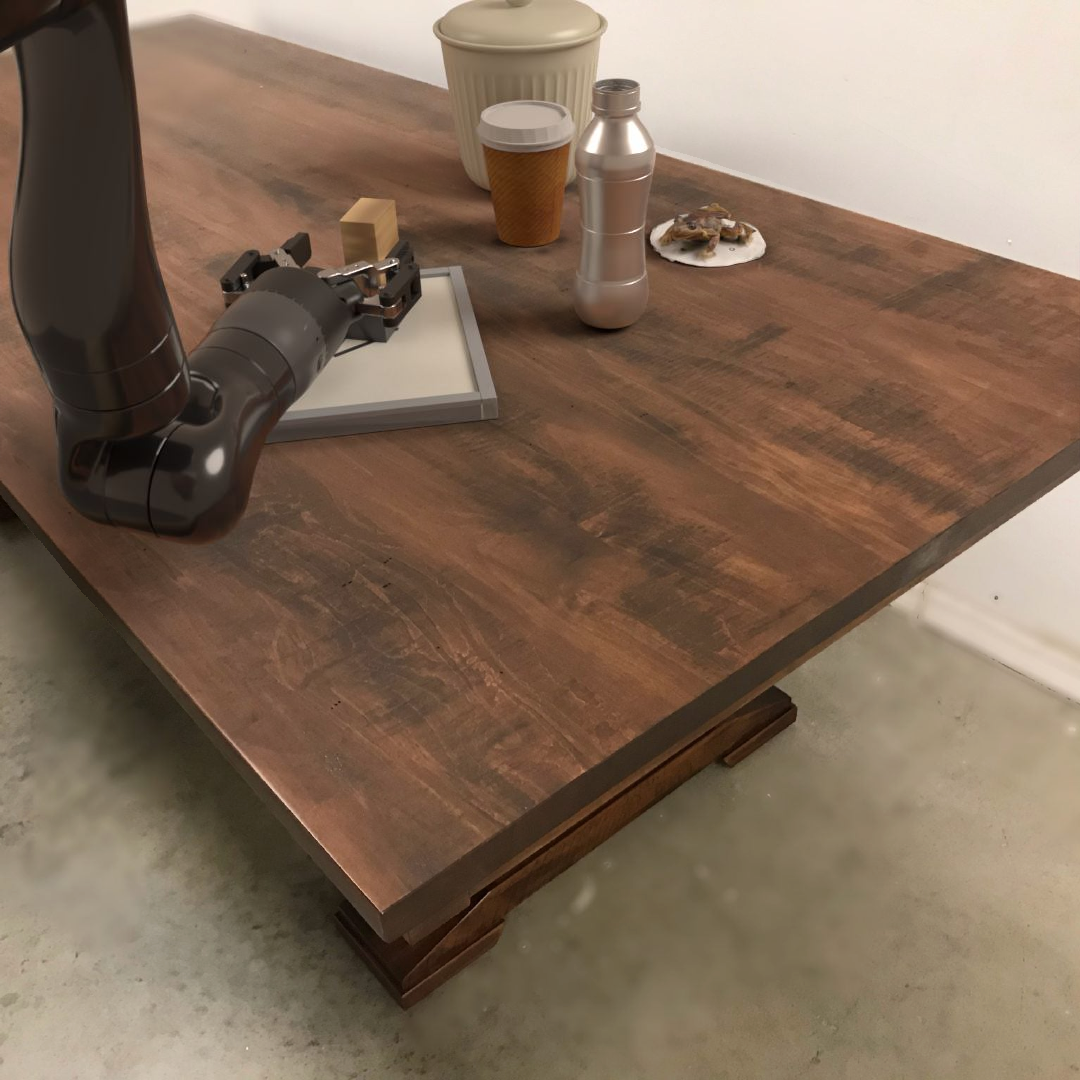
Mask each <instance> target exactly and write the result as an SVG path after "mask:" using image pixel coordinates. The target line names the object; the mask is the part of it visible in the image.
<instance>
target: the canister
mask: <svg viewBox="0 0 1080 1080" xmlns="http://www.w3.org/2000/svg"><path fill="white" fill-rule="evenodd" d="M608 26H609V23H608V20H607V18H606V17H605V16H604V15H603V14H601V13H599V12H597V11H595V10H594V9H593V7H591V6H590V5H588V4H586V3H584V2H582V1H579V0H468V1H466V2H463V3H460V4H458V5H456V6H455V7H452V8H451V9H450V10H448V11H447V12H446V13H445V14H444V15H443V16H441V17H440V18H438V19H437V20H435V22H434V24H433V25H432V32H433V34H434V36H435V38H437V39H438V40H439V41H440V48H441V52H442V53H441V54H442V58H443V66H444V72H445V78H446V83H447V89H448V95H449V101H450V107H451V113H452V118H453V123H454V129H455V133H456V139H457V143H458V144H457V145H458V149H459V153H460V158H461V162H462V165H463V168H464V170H465V172H466V174H467V176H468V178H470V180H471V181H472V182H473V183H474V184H475V185H476V186H477V187H480V188H481V189H484V190H486V191H487V192H491V190H490V184H489V178H488V172H487V168H486V161H485V155H484V150H483V144H482V142H481V140H480V137H479V135H478V134H477V130H476V129H477V126H478V125H479V123H480V117H481V114H482V112H483V111H484V110H485V109H487V108H488V107H491V106H493V105H496V104H500V103H504V102H511V101H523V100H536V101H546V102H552V103H556V104H559V105H562V106H564V107H566V108H567V109H568V110H569V111H570V113H571V118H572V121H573V122H574V124H575V126H576V129H575V132H574V133H573V138H572V139H571V141H570V149H569V157H568V166H567V174H566V183H565V188H566V187H568V186H569V185H571V184H573V183H574V182H575V181H577V176H576V167H575V156H574V155H575V151H576V147H577V144H578V141H579V139H580V137H581V136H582V134H583V132H584V130H585V129H586V128H587V126H588V125H589V124H590V122H591V121H592V119H593V112H592V111H591V102H592V87H593V84H594V83H595V82H597V75H598V66H599V57H600V49H601V37H602V36H603V35H604V34H605V33H606V31H607V29H608Z"/></svg>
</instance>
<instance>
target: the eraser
mask: <svg viewBox="0 0 1080 1080" xmlns="http://www.w3.org/2000/svg"><path fill="white" fill-rule="evenodd" d="M396 208H397V207H396V200H395V199H385V198H371V197H360V198H359V199H358V200H357V201H356V202H355V203H354V204H353V206H352V207H350V209H348V211H347V212H346V213H345V214H344V215H343V216H342V217H341V218H340V219H339V221H338V224H339V230H340V236H341V243H342V251H343V258H344V259H343V260H344V266H347V265H350V264H353V263H356V262H359V261H363V260H364V261H366V262H368V263H370V264H373V263H376V262H378V261H381V260H384V259H385V257H386V256H387V255H388V253H389V252H390V251H391V250H392V248H393V247H394V246H395V245H396V243H397V242H398V241H399V240H400V237H399V230H398V229H399V227H398V219H397V210H396ZM353 279H354V280H355V282H356V283H357V285H358V286H359V288H360V289H361V291H362V285H361V277H360V276H358V277H355V278H353ZM377 282H378V286H380V285H383V284H386V277H385V273H384V274H381V275H379V276H378V278H377ZM403 319H404V318H403ZM403 319H402V320H403ZM401 322H402V321H401ZM401 322H400V323H401ZM400 323H399V324H400ZM399 324H398V325H397V326H396V327H392V328H386V327H384V326H383V325H382V319H381V317H380V316H372V315H364V316H363V317H362V318H361V319H359V320H357V321H355V322H353V323H351V324H350V325H349V328H348V330H347V333H346V336H345V339H355V340H365V341H376V342H387V341H388V340H389V339H390V337H391V336H392V334H393V333H394V331H395V330H396V329H397V327H398V326H399Z"/></svg>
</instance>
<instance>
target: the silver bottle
mask: <svg viewBox="0 0 1080 1080" xmlns="http://www.w3.org/2000/svg"><path fill="white" fill-rule="evenodd" d="M641 110H642V102H641V86H640V83H639V82H638V81H636V80H634V79H629V78H615V77H614V78H606V79H605V78H604V79H600V80H598V81H597V80H596V82H595V83H594V84H593V87H592V102H591V111H592V113H593V114H594V116H593V117H592V119H591V122H590V124H589V125H588V126H587V128H586V129H585V130H584V132H583V134H582V136H581V137H580V139H579V141H578V144H577V147H576V151H575V155H574V156H575V167H576V176H577V178H576V183H577V190H578V191H577V192H578V198H579V218H580V223H579V225H580V237H579V248H578V257H577V258H578V259H577V268H576V270H575V275H574V278H573V279H574V280H573V287H572V291H571V294H572V295H571V296H572V301H573V307H574V311H575V313H576V314H577V316H578V317H579V318H580V320H581V321H582V322H583V323H584V324H586V325H588V326H591V327H594V328H597V329H620V328H625V327H629V326H631V325H633V324H635V323H637V322H638V321H639V320H640V318H641V317H642V316H643V314H644V313H645V311H646V309H647V304H648V302H649V301H648V300H649V296H650V289H649V288H650V287H649V277H648V271H647V268H646V242H645V241H646V239H645V238H646V237H645V230H646V218H647V211H648V201H649V196H650V191H651V185H652V180H653V175H654V169H655V165H656V159H657V158H656V156H657V151H656V146H655V142H654V140H653V138H652V136H651V135H650V133H649V131H648V129H647V127H646V126H645V125H644V123H643V122H642V120H641V119H640V118H639V116H638V113H639V112H640V111H641Z"/></svg>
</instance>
